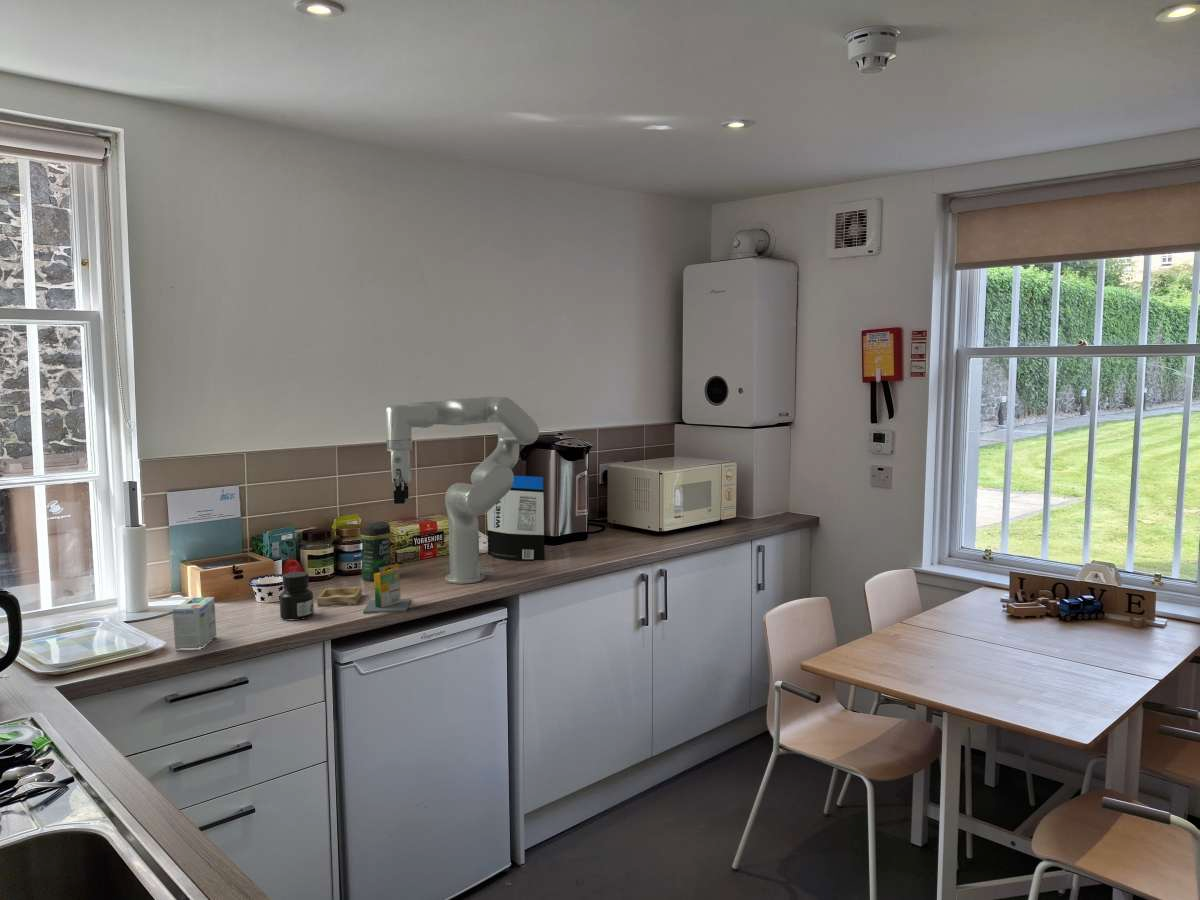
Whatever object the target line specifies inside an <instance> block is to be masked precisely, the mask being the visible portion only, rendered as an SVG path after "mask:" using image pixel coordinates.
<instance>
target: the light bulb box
mask: <svg viewBox="0 0 1200 900" xmlns="http://www.w3.org/2000/svg"><path fill="white" fill-rule="evenodd" d="M172 620H173V635H174V650H175V649H180V648H199V647H203V646H204V645H205V644H207V643H208V642H209V641H210V640H212V639H213V638H214V637H215V636H216V637H217V623H216V622H217V621H216V607H215V597H214V596H207V597H189V598H187V599H186V600H184V601H183V602H182V603H180V604H179V605H178V606H176V607H174V608H173V609H172ZM214 639H215V638H214ZM214 639H213V640H214ZM213 640H212V641H213ZM207 645H208V644H207Z"/></svg>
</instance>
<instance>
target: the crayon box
mask: <svg viewBox="0 0 1200 900" xmlns="http://www.w3.org/2000/svg"><path fill="white" fill-rule="evenodd" d="M389 567H390V568H391V569H390V570H387V571H385V570H386V569H388V568H389ZM400 578H401V577H400V563H395V564H393V565H392V564H391V566H387V567H383V568H380V572H379V573H375V574H374V580H373V583H374V584H373V585H374V587H373V588H374V600H375V606H376V607H379V608H383V607H386V606H389V605H393V604H396V603H400V602H401V599H402V597H401V582H400V581H401V580H400Z"/></svg>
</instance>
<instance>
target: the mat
mask: <svg viewBox="0 0 1200 900" xmlns="http://www.w3.org/2000/svg"><path fill="white" fill-rule="evenodd" d="M411 601H412V598H401V602H400V603H396V604H393V605H389V606H386V607H383V608H379V607H376V606H375V599H369V600H368V602H367V604H366V606H365V607H364V610H362V613H365V614H372V613H371V612H388V613H405V612H406V613H407V611H408V608H409V607H408V606H410V604H409V603H411Z"/></svg>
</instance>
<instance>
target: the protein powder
mask: <svg viewBox="0 0 1200 900" xmlns="http://www.w3.org/2000/svg"><path fill="white" fill-rule="evenodd" d="M544 500H545V499H544V477H543V476H531V475H530V476H528V475H514V482H513V485H512V487H511V489H510V490H509V492H508V493H507V494H506V495H505V496H504V497H503V498H502V499H501V500H499V501H498V502H497V503H496V504H495V505H494V506H493V507H492V508H491V509H490V510H489V511H488V512H486V519H487V555H488V556H491V557H492V556H493V558H495V559H498V558H499V559H500V560H503V559H504V560H505V561H511V560H513V561H514V562H535V561H534V560H542V561H543V560H545V561H546V558H545V557H546V556H545V516H544V515H545V514H544V513H545V509H544V507H545V505H544V503H545V501H544ZM499 559H498V560H499Z"/></svg>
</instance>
